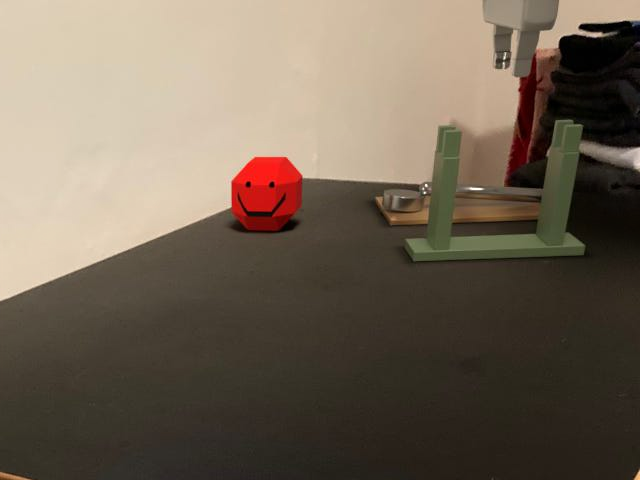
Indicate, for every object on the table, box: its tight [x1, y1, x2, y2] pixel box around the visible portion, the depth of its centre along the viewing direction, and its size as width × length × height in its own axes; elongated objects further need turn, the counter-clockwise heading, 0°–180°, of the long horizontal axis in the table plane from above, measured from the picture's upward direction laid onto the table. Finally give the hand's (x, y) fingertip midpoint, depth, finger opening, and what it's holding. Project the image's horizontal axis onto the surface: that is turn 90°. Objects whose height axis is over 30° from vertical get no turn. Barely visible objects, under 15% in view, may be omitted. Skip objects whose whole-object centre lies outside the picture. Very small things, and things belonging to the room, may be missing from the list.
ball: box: [230, 156, 304, 232], centre depth 120 cm, size 8×8×8 cm
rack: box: [404, 119, 586, 263], centre depth 104 cm, size 18×6×12 cm, turn 87°
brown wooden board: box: [374, 196, 541, 226], centre depth 125 cm, size 20×14×1 cm
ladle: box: [382, 181, 543, 212], centre depth 123 cm, size 22×5×3 cm, turn 87°
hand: (510, 72), depth 115 cm, fingers open, 8 cm apart
